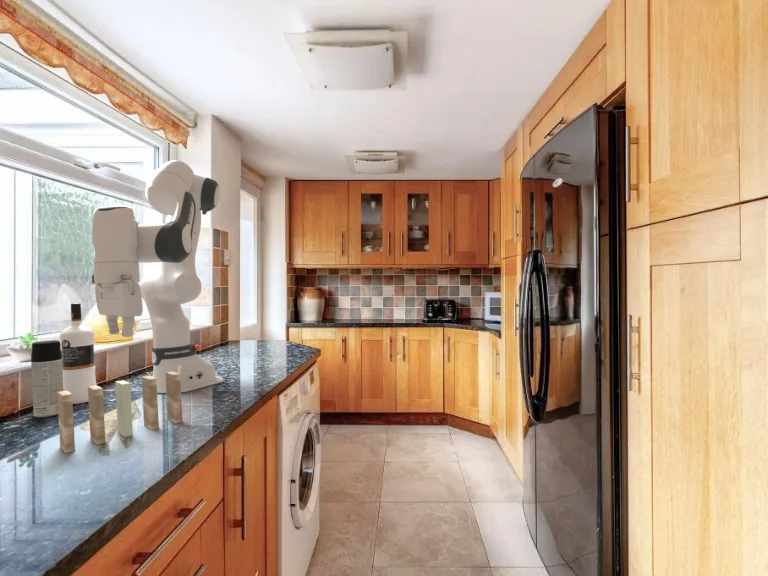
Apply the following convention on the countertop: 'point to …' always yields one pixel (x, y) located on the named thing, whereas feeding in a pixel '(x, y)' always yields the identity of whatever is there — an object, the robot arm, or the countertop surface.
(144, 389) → the domino
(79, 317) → the vodka
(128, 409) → the domino
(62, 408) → the domino
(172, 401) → the domino
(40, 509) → the countertop surface
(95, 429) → the brown wooden flat block
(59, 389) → the spray can
